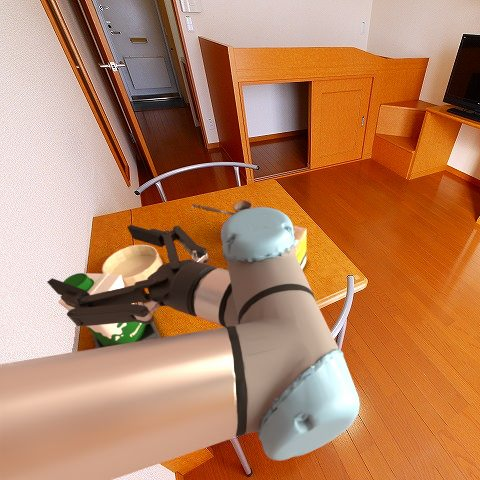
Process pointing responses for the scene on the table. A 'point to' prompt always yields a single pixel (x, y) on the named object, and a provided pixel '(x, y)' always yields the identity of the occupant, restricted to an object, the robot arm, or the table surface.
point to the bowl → (133, 263)
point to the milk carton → (106, 332)
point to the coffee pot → (236, 207)
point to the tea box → (300, 244)
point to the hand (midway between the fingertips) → (97, 255)
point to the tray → (149, 334)
